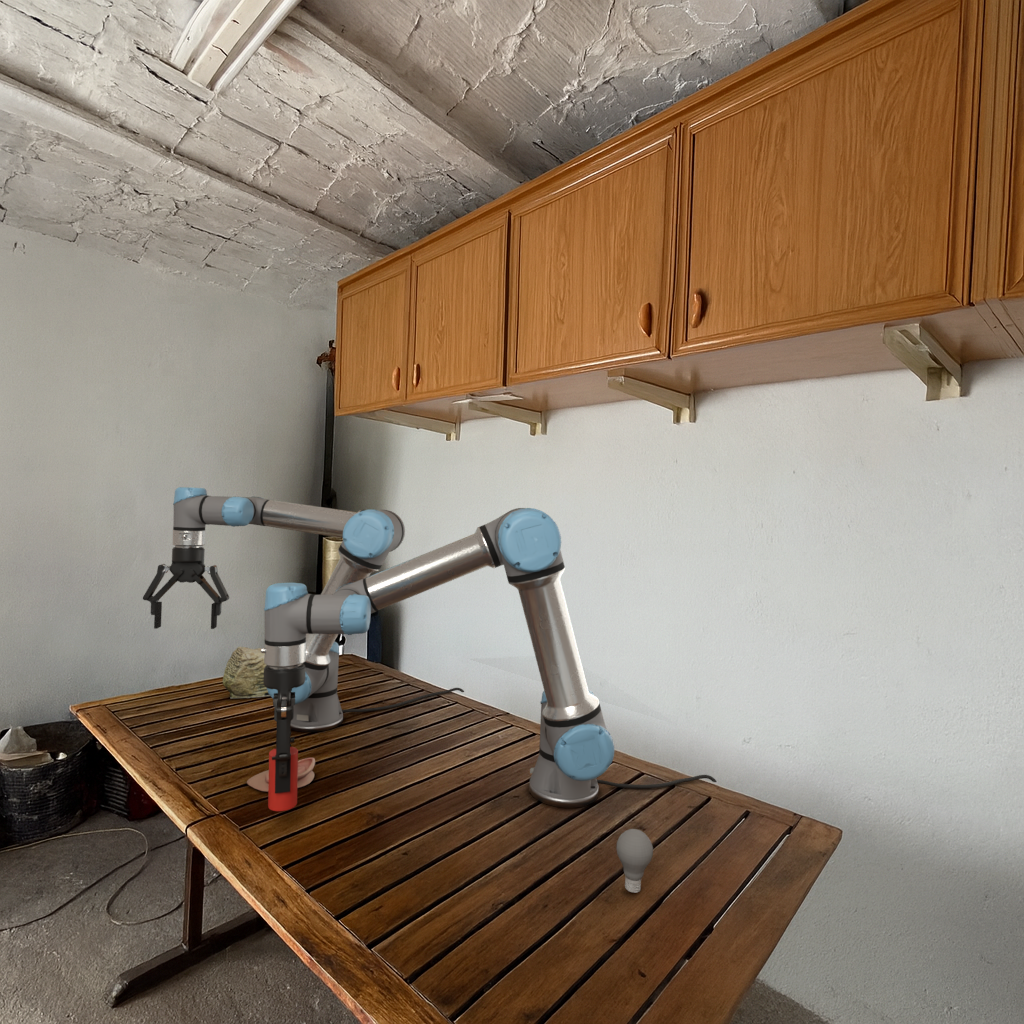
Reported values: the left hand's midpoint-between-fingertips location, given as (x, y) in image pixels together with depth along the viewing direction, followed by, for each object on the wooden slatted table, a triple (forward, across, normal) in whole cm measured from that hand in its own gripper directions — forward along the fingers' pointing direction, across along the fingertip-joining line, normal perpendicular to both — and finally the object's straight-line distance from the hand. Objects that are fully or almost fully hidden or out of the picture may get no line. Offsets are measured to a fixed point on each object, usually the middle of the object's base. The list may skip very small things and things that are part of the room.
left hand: (185, 627), depth 165 cm
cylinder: (+23, +33, -51) cm, 65 cm away
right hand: (+20, +33, -51) cm, 64 cm away
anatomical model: (+27, +30, -32) cm, 51 cm away
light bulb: (+27, +94, -79) cm, 125 cm away
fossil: (+27, +12, +31) cm, 43 cm away
